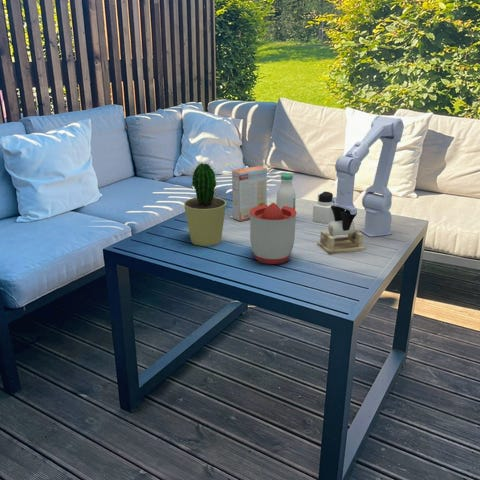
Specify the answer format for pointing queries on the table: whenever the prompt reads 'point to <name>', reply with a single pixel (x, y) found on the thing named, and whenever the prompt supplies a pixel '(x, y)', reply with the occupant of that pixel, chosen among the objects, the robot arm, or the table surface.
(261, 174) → the cracker box
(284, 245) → the citrus juicer
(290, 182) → the milk bottle
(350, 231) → the roll
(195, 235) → the potted cactus
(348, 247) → the beige wooden frame
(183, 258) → the table surface
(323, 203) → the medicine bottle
